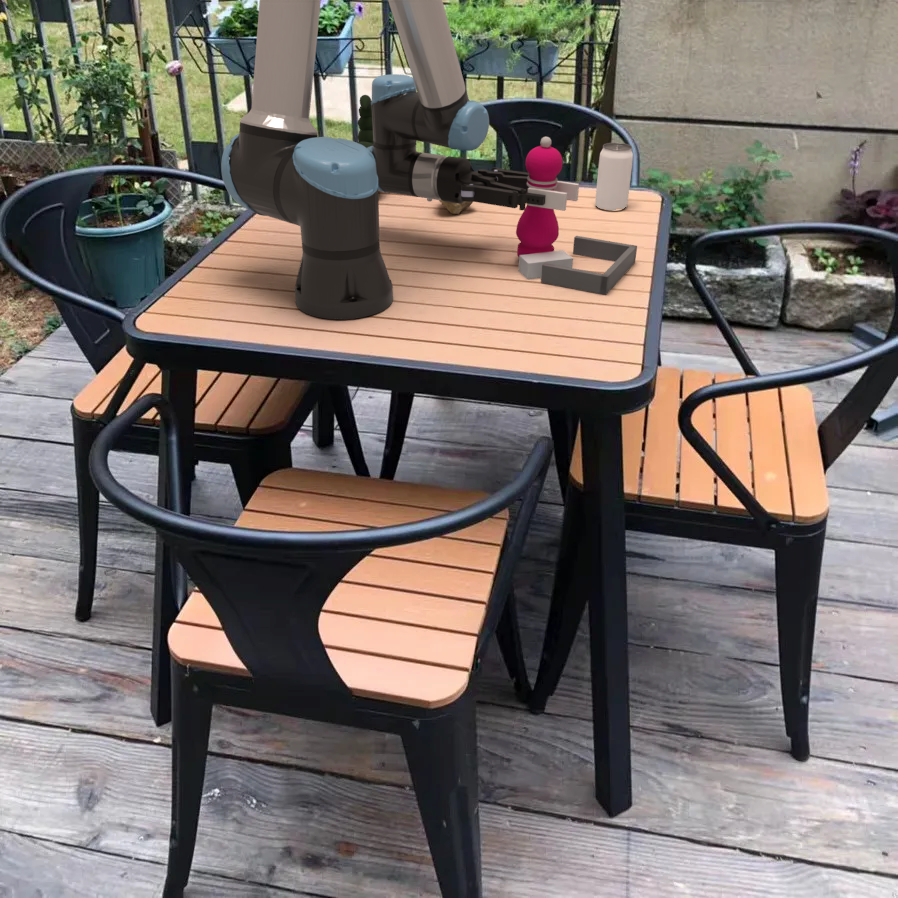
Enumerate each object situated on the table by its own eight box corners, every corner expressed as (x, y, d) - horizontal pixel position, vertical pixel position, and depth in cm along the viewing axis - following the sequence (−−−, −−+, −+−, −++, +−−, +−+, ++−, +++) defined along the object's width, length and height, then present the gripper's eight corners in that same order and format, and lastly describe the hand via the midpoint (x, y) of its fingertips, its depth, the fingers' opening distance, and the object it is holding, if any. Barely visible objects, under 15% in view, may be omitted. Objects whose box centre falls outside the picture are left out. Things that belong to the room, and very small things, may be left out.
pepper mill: (553, 266, 146) (567, 144, 134) (511, 261, 147) (521, 140, 135) (557, 250, 151) (571, 133, 140) (517, 246, 153) (526, 129, 141)
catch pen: (605, 294, 137) (607, 277, 136) (541, 282, 141) (542, 265, 140) (635, 262, 149) (637, 245, 148) (574, 252, 153) (576, 235, 152)
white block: (527, 280, 143) (528, 263, 141) (518, 272, 146) (519, 255, 144) (571, 275, 145) (573, 258, 143) (561, 267, 148) (563, 250, 147)
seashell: (432, 197, 180) (431, 158, 176) (470, 197, 181) (471, 157, 176) (436, 218, 169) (436, 177, 164) (478, 217, 169) (479, 176, 165)
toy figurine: (349, 182, 195) (338, 206, 173) (344, 92, 186) (332, 105, 164) (391, 182, 195) (385, 206, 173) (388, 92, 186) (382, 105, 164)
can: (592, 210, 174) (598, 148, 167) (597, 200, 179) (603, 141, 172) (624, 213, 172) (632, 151, 165) (628, 203, 177) (636, 143, 171)
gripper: (466, 187, 158) (587, 205, 150) (420, 214, 145) (550, 236, 136) (467, 144, 154) (591, 160, 146) (419, 169, 141) (553, 188, 132)
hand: (571, 197), depth 141 cm, fingers closed on pepper mill, 5 cm apart
